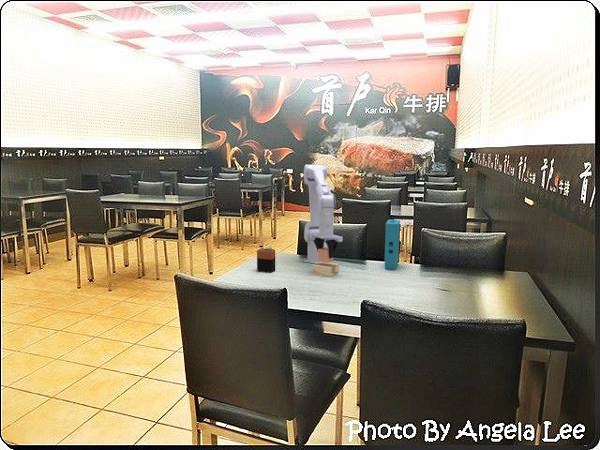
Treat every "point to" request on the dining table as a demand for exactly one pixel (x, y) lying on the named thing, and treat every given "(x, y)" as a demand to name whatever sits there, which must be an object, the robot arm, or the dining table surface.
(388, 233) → the block
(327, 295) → the dining table surface
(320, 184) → the robot arm
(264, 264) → the battery
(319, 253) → the terracotta block
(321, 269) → the maple block
